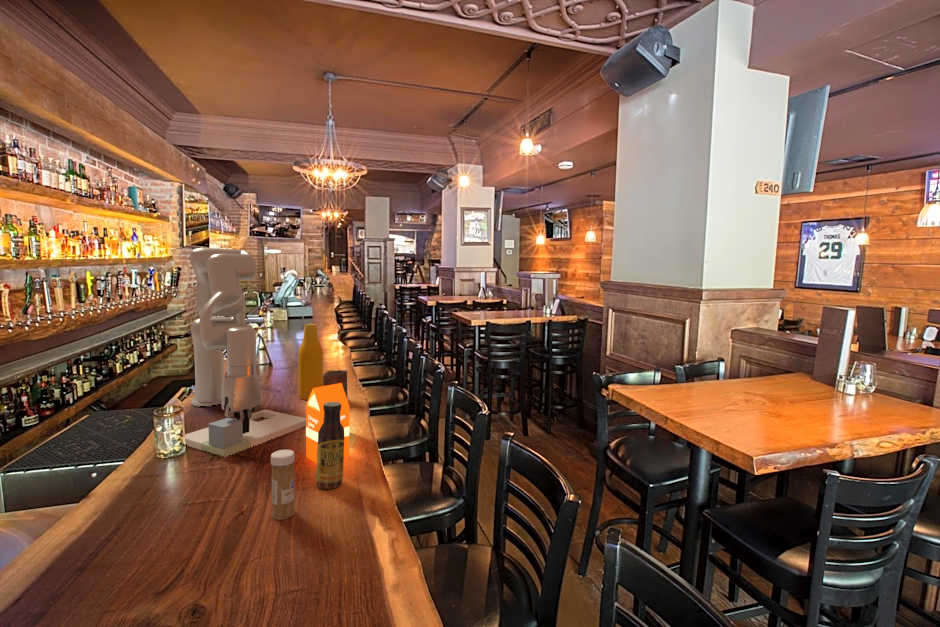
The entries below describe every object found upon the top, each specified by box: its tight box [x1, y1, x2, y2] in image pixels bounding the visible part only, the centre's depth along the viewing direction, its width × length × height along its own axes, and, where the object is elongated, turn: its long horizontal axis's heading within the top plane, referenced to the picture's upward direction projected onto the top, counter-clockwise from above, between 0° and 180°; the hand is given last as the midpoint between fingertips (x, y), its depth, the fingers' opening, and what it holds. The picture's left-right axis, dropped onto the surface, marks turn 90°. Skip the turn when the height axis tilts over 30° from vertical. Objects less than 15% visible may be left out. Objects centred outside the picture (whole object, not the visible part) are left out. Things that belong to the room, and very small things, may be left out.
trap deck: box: [184, 408, 306, 458], centre depth 142 cm, size 20×30×2 cm, turn 154°
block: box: [208, 417, 243, 449], centre depth 129 cm, size 6×6×6 cm
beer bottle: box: [297, 323, 324, 401], centre depth 181 cm, size 9×9×29 cm
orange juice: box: [305, 383, 350, 464], centre depth 126 cm, size 8×9×20 cm
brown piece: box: [323, 369, 348, 399], centre depth 143 cm, size 8×7×20 cm
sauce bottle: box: [315, 402, 345, 490], centre depth 110 cm, size 6×6×20 cm
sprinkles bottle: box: [270, 449, 296, 521], centre depth 96 cm, size 5×5×14 cm
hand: (243, 431), depth 134 cm, fingers closed
